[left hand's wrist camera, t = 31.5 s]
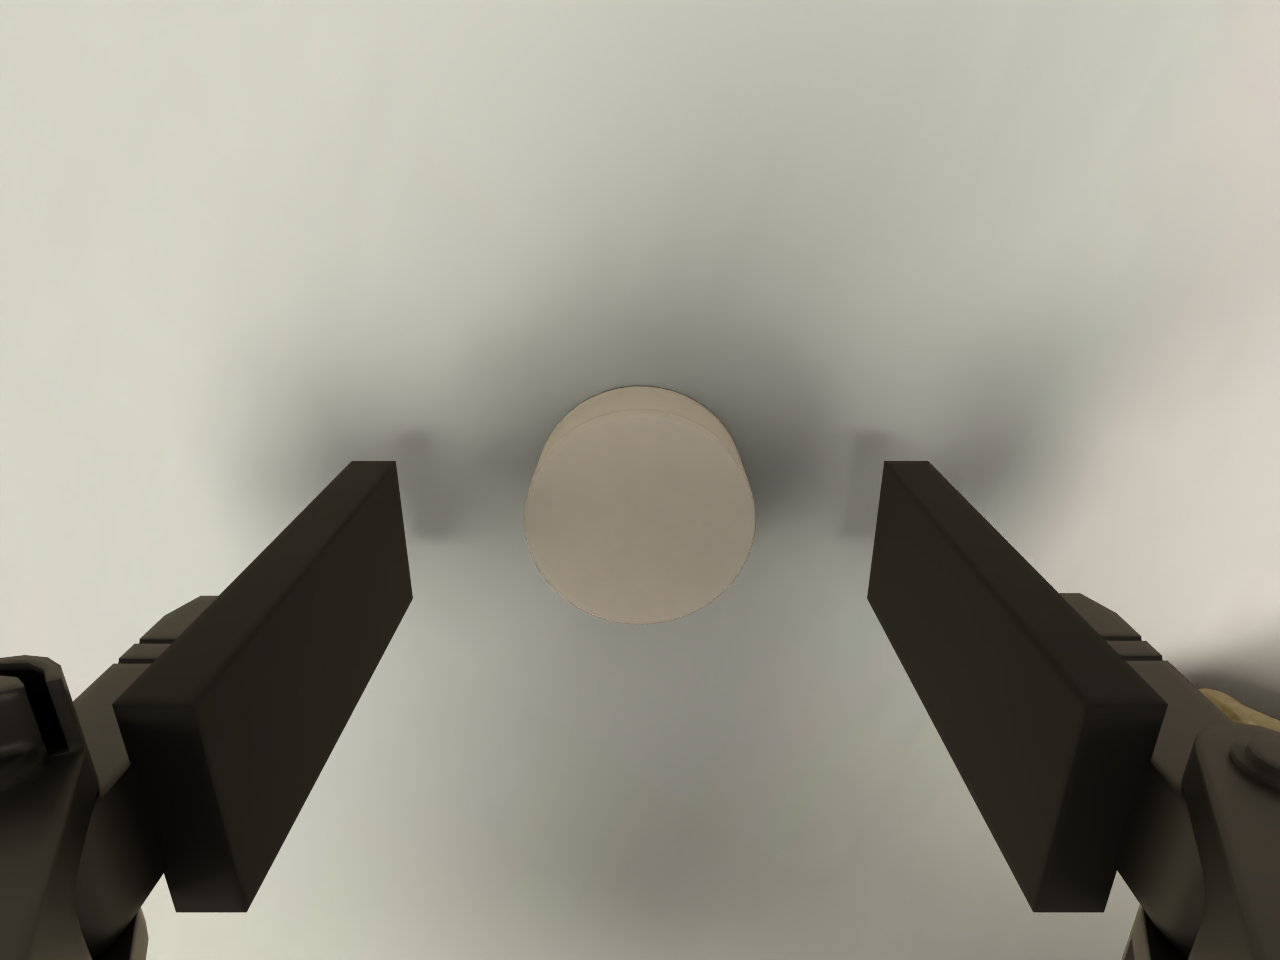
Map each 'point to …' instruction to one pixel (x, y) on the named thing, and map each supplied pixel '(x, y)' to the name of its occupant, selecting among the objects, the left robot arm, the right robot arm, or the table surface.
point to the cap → (639, 507)
